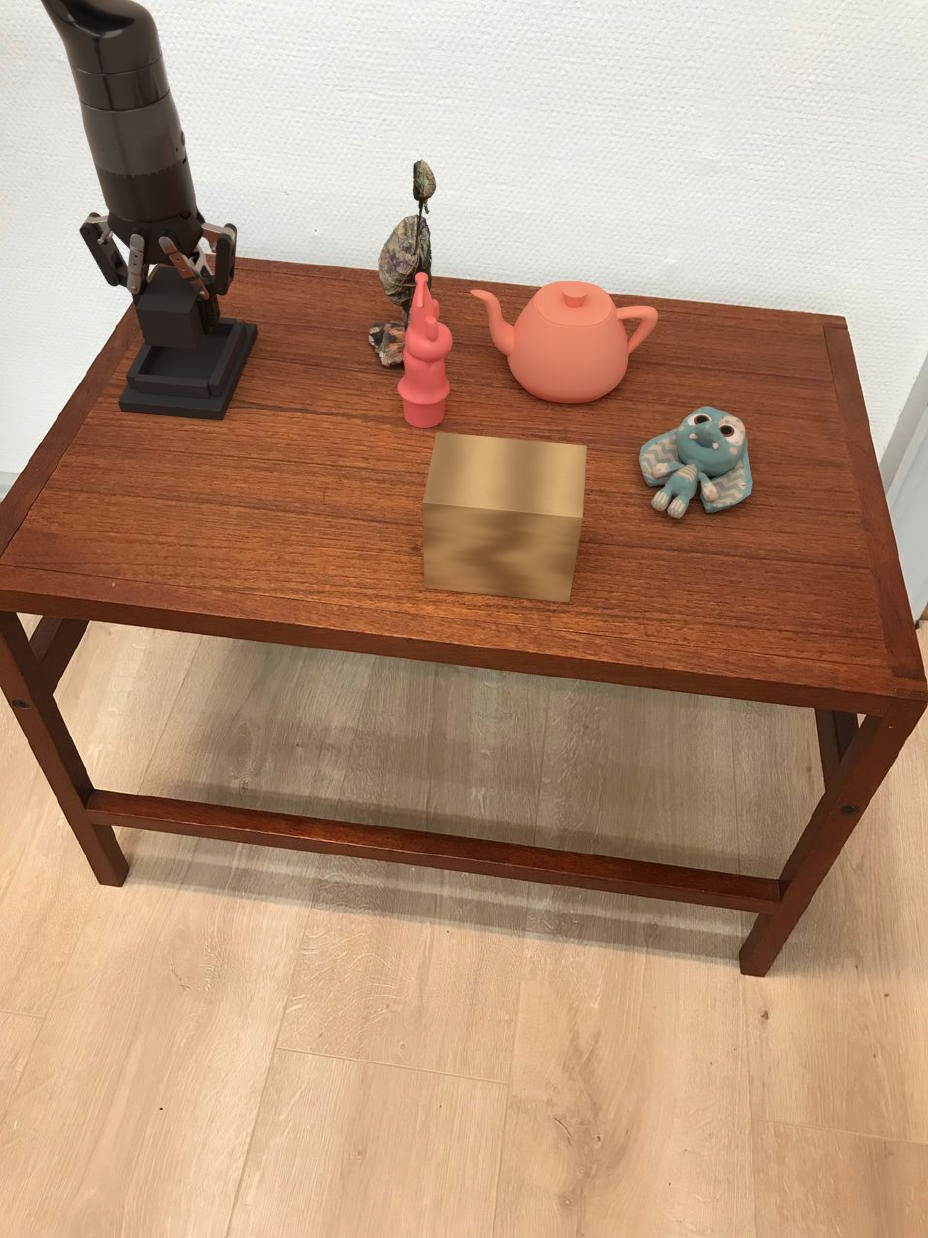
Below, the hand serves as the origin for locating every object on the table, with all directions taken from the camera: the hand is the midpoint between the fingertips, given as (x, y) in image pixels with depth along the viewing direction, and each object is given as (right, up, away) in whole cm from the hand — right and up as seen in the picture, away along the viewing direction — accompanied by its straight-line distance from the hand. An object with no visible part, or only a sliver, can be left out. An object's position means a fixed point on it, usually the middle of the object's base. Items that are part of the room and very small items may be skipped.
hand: (181, 324), depth 94 cm
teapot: (+37, -3, +5) cm, 37 cm away
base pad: (0, -3, +4) cm, 5 cm away
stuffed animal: (+48, -16, -5) cm, 51 cm away
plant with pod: (+21, +1, +8) cm, 23 cm away
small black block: (0, 0, 0) cm, 0 cm away
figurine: (+23, -9, +1) cm, 25 cm away
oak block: (+30, -23, -11) cm, 40 cm away
